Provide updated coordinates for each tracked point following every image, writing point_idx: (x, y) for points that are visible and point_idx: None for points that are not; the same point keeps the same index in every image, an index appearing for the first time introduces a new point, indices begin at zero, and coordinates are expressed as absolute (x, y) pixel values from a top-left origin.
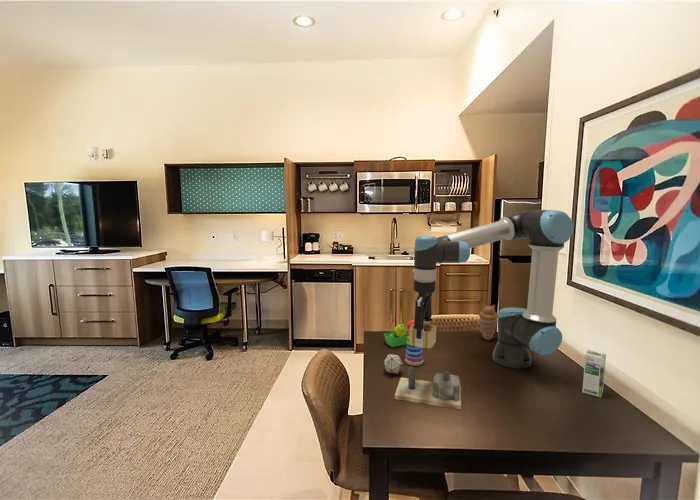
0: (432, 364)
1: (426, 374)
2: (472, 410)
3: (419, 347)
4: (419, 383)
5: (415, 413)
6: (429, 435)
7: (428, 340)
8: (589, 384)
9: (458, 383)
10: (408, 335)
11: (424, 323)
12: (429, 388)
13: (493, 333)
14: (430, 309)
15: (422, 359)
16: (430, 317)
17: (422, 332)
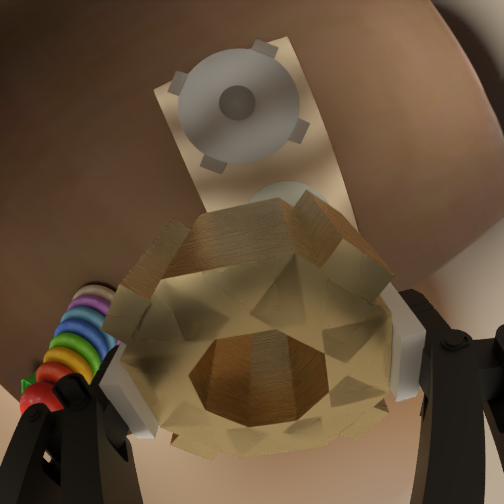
0: (70, 257)
1: (141, 239)
2: (264, 12)
3: (76, 327)
4: None
5: (392, 154)
6: (449, 87)
7: (354, 230)
8: None
9: (239, 49)
10: (25, 383)
11: (149, 406)
12: (250, 172)
13: None
14: (21, 491)
15: (83, 293)
16: (48, 410)
17: (410, 317)
